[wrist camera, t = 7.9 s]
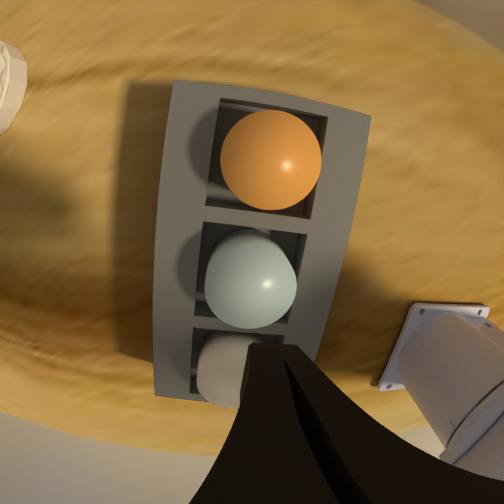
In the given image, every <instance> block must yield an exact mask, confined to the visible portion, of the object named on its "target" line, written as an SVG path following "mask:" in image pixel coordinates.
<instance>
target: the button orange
mask: <svg viewBox="0 0 504 504" xmlns="http://www.w3.org/2000/svg"><path fill="white" fill-rule="evenodd" d="M220 164H221V170H222V174H223V177H224V180H225V182H226V184H227V186H228V187H229V189H230V190H231V191H232V192H233V194H234V195H235V196H236V197H238V198H239V199H240V200H241V201H243V202H244V203H246V204H248V205H250V206H252V207H255V208H258V209H263V210H279V209H284V208H287V207H290V206H292V205H294V204H296V203H298V202H299V201H301V200H302V199H303V198H305V197H306V196H307V195H308V194H309V193H310V191H311V190H312V189H313V187H314V186H315V184H316V182H317V180H318V177H319V174H320V170H321V150H320V147H319V143H318V141H317V139H316V137H315V135H314V133H313V132H312V130H311V129H310V128H309V127H308V126H307V125H306V124H305V123H304V122H303V121H302V120H300V119H299V118H297V117H296V116H294V115H292V114H289V113H287V112H283V111H278V110H264V111H258V112H255V113H252V114H250V115H248V116H246V117H244V118H243V119H241V120H240V121H239V122H237V123H236V124H235V125H234V126H233V127H232V128H231V130H230V131H229V133H228V134H227V136H226V138H225V140H224V143H223V145H222V149H221V156H220Z"/></svg>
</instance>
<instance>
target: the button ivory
mask: <svg viewBox="0 0 504 504" xmlns="http://www.w3.org/2000/svg"><path fill="white" fill-rule="evenodd" d="M253 342H257V343H265V341H264V340H263V338H262V337H261V336H260V335H259V334H258V333H246V332H234V331H223V330H214V331H213V332H211V333H210V334H208V335H207V336H206V337H205V338H204V340H203V341H202V343H201V345H200V349H199V358H198V370H197V388H198V390H199V392H200V394H201V395H202V396H203V397H204V398H205V399H206V400H207V401H209V402H210V403H212V404H214V405H216V406H219V407H223V408H229V409H239V406H240V389H241V383H242V378H243V373H244V367H245V362H246V356H247V351H248V345H250V344H251V343H253Z"/></svg>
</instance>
